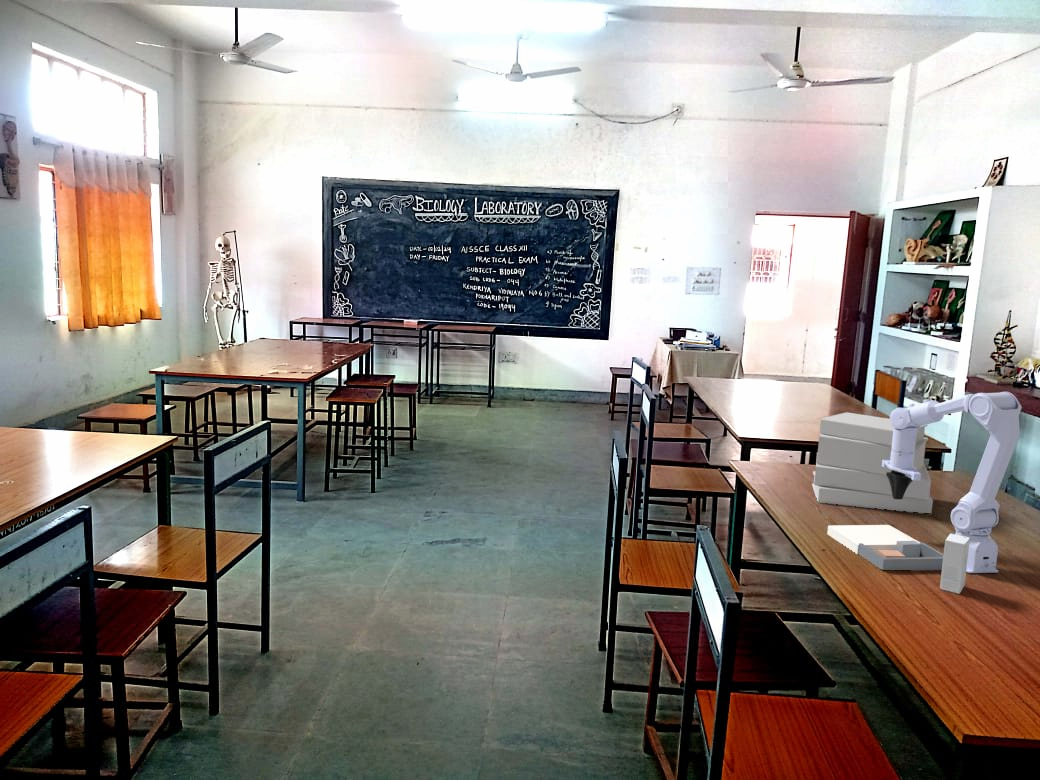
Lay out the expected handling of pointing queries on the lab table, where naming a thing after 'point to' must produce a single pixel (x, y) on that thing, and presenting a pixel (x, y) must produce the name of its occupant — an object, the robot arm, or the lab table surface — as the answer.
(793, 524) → the lab table surface
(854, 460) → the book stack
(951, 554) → the skincare box
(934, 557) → the grey rectangular frame
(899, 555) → the peach block
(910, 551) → the grey rectangular block
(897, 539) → the board
